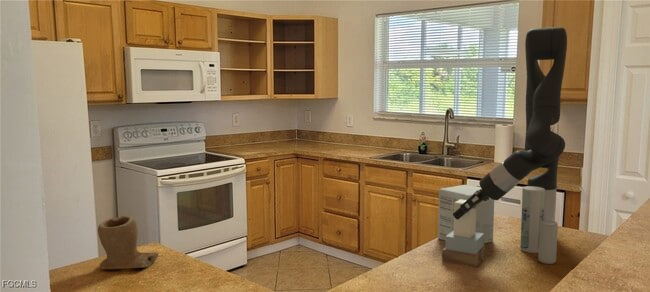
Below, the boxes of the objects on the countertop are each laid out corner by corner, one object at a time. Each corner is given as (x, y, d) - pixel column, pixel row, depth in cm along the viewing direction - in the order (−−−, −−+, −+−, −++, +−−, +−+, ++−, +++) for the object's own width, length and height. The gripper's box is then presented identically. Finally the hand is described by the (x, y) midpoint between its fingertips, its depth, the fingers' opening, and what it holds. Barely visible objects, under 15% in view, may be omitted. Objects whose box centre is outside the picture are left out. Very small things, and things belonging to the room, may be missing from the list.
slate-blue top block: (454, 241, 159) (454, 229, 158) (483, 246, 154) (484, 233, 154) (445, 249, 151) (445, 236, 151) (475, 254, 147) (476, 241, 146)
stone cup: (91, 275, 141) (88, 223, 140) (109, 260, 153) (106, 212, 151) (146, 275, 142) (143, 222, 140) (159, 260, 153) (157, 212, 152)
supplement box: (463, 232, 181) (464, 184, 179) (493, 241, 170) (495, 190, 168) (436, 238, 174) (438, 188, 172) (466, 248, 163) (468, 195, 161)
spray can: (517, 246, 165) (520, 185, 162) (539, 247, 164) (541, 186, 161) (522, 252, 158) (525, 190, 156) (544, 253, 157) (547, 190, 155)
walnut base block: (452, 253, 160) (452, 240, 160) (484, 258, 155) (485, 245, 154) (442, 262, 152) (442, 249, 151) (475, 268, 146) (476, 255, 146)
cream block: (459, 231, 156) (460, 199, 155) (475, 233, 153) (476, 201, 152) (453, 235, 152) (454, 202, 151) (469, 237, 149) (470, 204, 148)
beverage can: (557, 265, 148) (559, 225, 146) (540, 264, 149) (542, 224, 147) (553, 259, 152) (555, 220, 151) (536, 258, 153) (538, 219, 152)
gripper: (499, 167, 151) (461, 200, 159) (482, 174, 140) (442, 209, 148) (516, 186, 149) (477, 219, 157) (501, 195, 137) (459, 229, 146)
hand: (460, 214), depth 152 cm, fingers open, 8 cm apart
